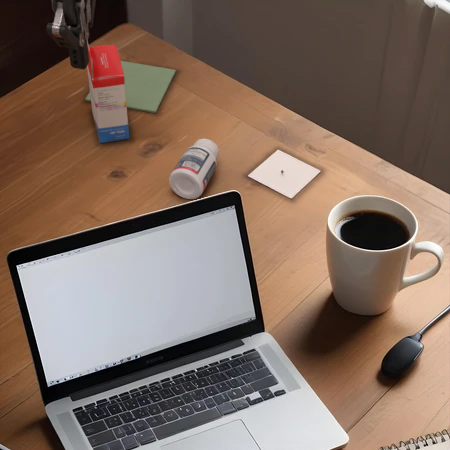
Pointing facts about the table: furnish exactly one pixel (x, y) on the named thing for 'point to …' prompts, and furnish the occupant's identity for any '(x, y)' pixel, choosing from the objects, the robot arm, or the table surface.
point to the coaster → (284, 173)
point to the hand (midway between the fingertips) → (80, 65)
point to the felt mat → (144, 85)
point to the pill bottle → (194, 169)
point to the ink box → (107, 93)
